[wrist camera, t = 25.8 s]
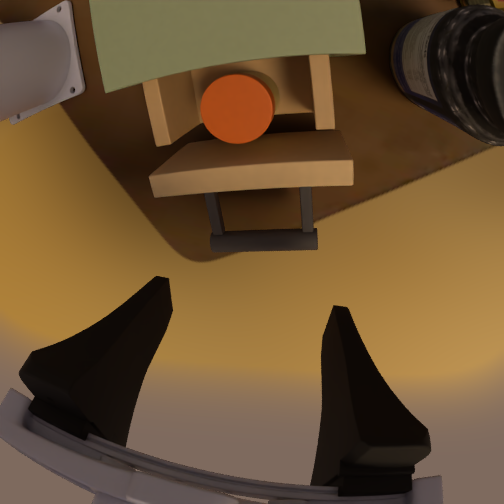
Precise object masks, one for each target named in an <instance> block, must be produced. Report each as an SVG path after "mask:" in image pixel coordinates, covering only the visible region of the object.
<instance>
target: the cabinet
mask: <svg viewBox="0 0 504 504" xmlns="http://www.w3.org/2000/svg"><path fill="white" fill-rule="evenodd" d="M89 3H90V11H91V18H92V25H93V31H94V37H95V43H96V49H97V54H98V60H99V65H100V70H101V75H102V80H103V85H104V89H105V93H109V92H112V91H116V90H119V89H123V88H127V87H130V86H134V85H138V84H142V82H146V81H150V80H153V79H157V78H161V77H165V76H169V75H173V74H178V73H182V72H187V71H191V70H196V69H201V68H206V67H212V66H217V65H223V64H230V63H236V62H243V61H251V60H259V59H268V58H278V57H289V56H304V55H329V57H332V56H350V55H361V54H366V48H365V38H364V30H363V22H362V15H361V8H360V1H359V0H89Z"/></svg>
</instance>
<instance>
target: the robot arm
mask: <svg viewBox="0 0 504 504" xmlns="http://www.w3.org/2000/svg"><path fill="white" fill-rule="evenodd" d="M60 8H61V11H60ZM73 88H75V92H74V91H73ZM84 91H85V82H84V77H83V72H82V67H81V62H80V57H79V51H78V45H77V39H76V33H75V26H74V19H73V12H72V4H71V2H70V1H66V0H65V1H63V2H61V3H60V4H58V5H56V6H55V7H53V8H51V9H50V10H48V11H47V12H45V13H44V14H42V15H40V16H39V17H37V18H36V19H34V20H33V21H25V22H15V23H6V24H0V121H2V120H5V119H7V118H9V120H10V123H11V124H16V123H18V122H20V121H22V120H24V119H25V118H28V117H30V116H32V115H34V114H36V113H38V112H40V111H42V110H44V109H46V108H49V107H51V106H53V105H55V104H58V103H60V102H62V101H64V100H67V99H69V98H72V97H74V96H77V95H79V94H82V93H83V92H84ZM172 312H173V307H172V301H171V292H170V284H169V278H165V277H160V276H156V277H154V278H153V279H152V280H151V281H149V282H148V283H147V284H146V285H145V286H144V287H142V288H141V289H140V290H139V291H138V292H137V293H135V294H134V295H133V296H132V297H131V298H129V299H128V300H127V301H126V302H125V303H123V304H122V305H121V306H119V307H118V308H117V309H115V310H114V311H113V312H111V313H110V314H109V315H108V316H106V317H104V318H103V319H102V320H100V321H99V322H97V323H95V324H94V325H92V326H90V327H89V328H87V329H85V330H83V331H81V332H79V333H78V334H76V335H74V336H72V337H70V338H68V339H65V340H63V341H61V342H58V343H56V344H53V345H50V346H48V347H45V348H42V349H39V350H35V351H32V352H31V354H30V355H29V357H28V359H27V360H26V362H25V363H24V365H23V366H22V368H21V369H20V371H19V376H20V378H21V380H22V381H23V383H24V384H25V385H26V386H27V388H28V389H29V390H30V391H31V392H32V394H33V395H34V396H35V397H34V399H33V400H32V401H31V400H30V399H29V398H28V397H26V396H25V395H23V394H21V393H19V392H18V391H16V390H14V389H13V388H10V390H9V391H8V393H7V395H6V397H5V398H4V400H3V402H2V403H1V405H0V438H2V439H3V440H4V441H5V442H7V443H8V444H9V445H11V446H12V447H13V448H15V449H16V450H18V451H19V452H20V453H22V454H24V455H25V456H27V457H28V458H30V459H32V460H33V461H35V462H36V463H38V464H39V465H41V466H43V467H45V468H46V469H48V470H50V471H51V472H53V473H55V474H57V475H58V476H60V477H62V478H64V479H66V480H67V481H70V482H71V483H73V484H75V485H77V486H79V487H81V488H83V489H85V490H87V491H89V492H91V493H94V494H95V496H94V499H93V502H92V504H265V503H259V502H254V501H250V500H245V499H240V498H236V497H234V496H231V495H228V494H234V495H239V496H246V497H252V498H259V499H268V500H270V501H268V504H443V490H442V476H432V477H424V478H417V479H414V480H412V474H413V473H414V472H415V468H414V467H415V466H414V465H415V464H416V463H418V462H419V461H421V460H422V459H424V458H425V457H426V456H428V455H429V453H430V452H431V443H430V436H429V432H428V429H427V428H426V427H425V426H424V425H423V424H422V423H421V422H420V421H419V420H417V419H416V418H415V417H414V416H413V415H412V414H411V413H410V412H409V410H408V409H407V408H406V407H405V406H404V405H403V404H402V403H401V401H400V400H399V399H398V398H397V396H396V395H395V394H394V393H393V391H392V390H391V389H390V387H389V386H388V385H387V383H386V382H385V380H384V379H383V377H382V376H381V374H380V373H379V371H378V369H377V368H376V366H375V364H374V362H373V361H372V359H371V357H370V355H369V353H368V351H367V350H366V347H365V345H364V343H363V341H362V339H361V337H360V335H359V333H358V331H357V328H356V326H355V323H354V321H353V319H352V316H351V314H350V311H349V309H348V308H347V307H343V306H335V305H334V306H333V308H332V311H331V314H330V317H329V320H328V323H327V325H326V329H325V331H324V334H323V339H322V351H321V374H322V412H321V422H320V432H319V438H318V446H317V452H316V458H315V464H314V469H313V474H312V479H311V484H310V486H308V485H295V484H283V483H274V482H267V481H259V480H252V479H245V478H240V477H234V476H229V475H223V474H218V473H214V472H209V471H205V470H200V469H196V468H192V467H188V466H184V465H180V464H177V463H173V462H169V461H166V460H162V459H159V458H156V457H153V456H150V455H147V454H144V453H141V452H138V451H135V450H132V449H129V448H126V442H127V438H128V433H129V428H130V424H131V420H132V416H133V412H134V408H135V405H136V402H137V398H138V395H139V392H140V389H141V386H142V383H143V380H144V377H145V374H146V372H147V369H148V367H149V365H150V363H151V361H152V359H153V356H154V354H155V353H156V350H157V348H158V346H159V344H160V342H161V340H162V338H163V336H164V334H165V332H166V330H167V326H168V324H169V321H170V318H171V315H172ZM131 467H132V468H131ZM133 468H135V469H137V470H140V471H143V472H140V471H136V470H135V469H133ZM145 472H146V473H145ZM199 487H200V488H199ZM217 491H218V492H217ZM221 492H223V493H221ZM225 493H228V494H225Z"/></svg>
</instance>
